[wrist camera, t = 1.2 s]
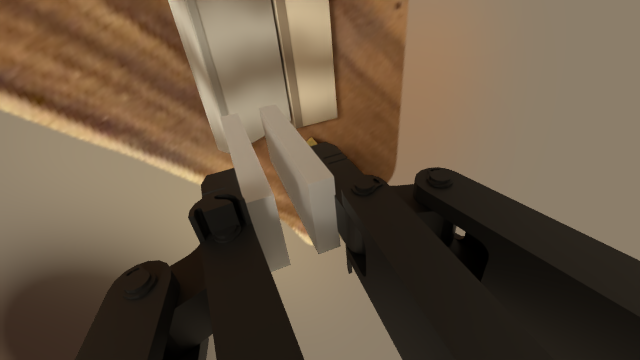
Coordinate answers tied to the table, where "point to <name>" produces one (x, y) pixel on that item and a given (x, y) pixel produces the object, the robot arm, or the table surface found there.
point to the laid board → (306, 59)
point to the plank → (233, 60)
